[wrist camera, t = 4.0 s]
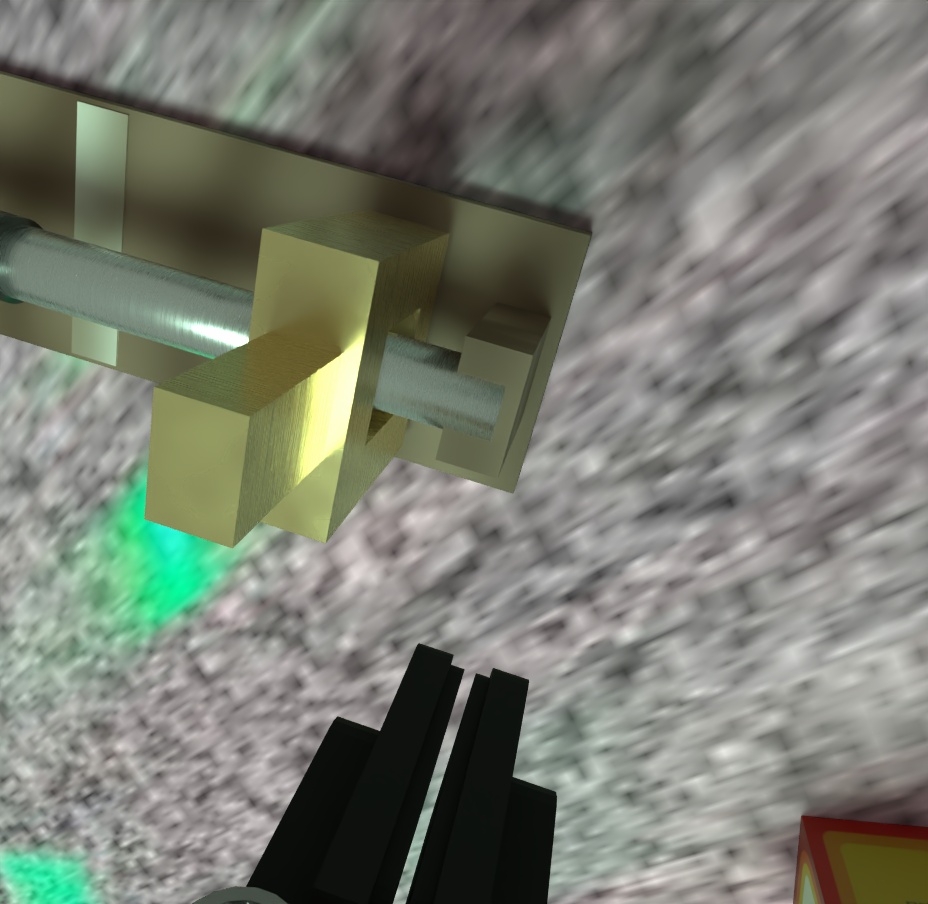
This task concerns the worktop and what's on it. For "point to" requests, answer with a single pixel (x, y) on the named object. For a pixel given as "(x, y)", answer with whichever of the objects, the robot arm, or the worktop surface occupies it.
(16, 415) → the worktop surface
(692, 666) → the worktop surface
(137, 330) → the pipe
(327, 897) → the robot arm
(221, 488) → the collar
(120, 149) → the pipe stand
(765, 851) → the worktop surface
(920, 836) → the baking soda box
